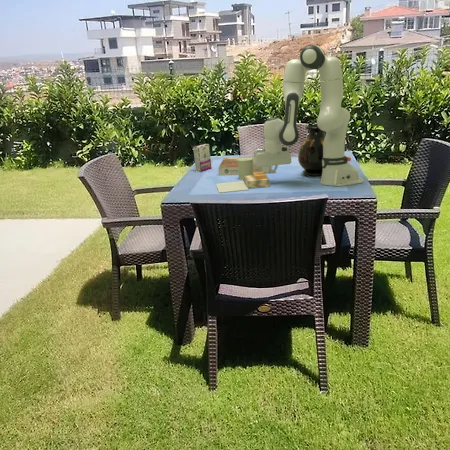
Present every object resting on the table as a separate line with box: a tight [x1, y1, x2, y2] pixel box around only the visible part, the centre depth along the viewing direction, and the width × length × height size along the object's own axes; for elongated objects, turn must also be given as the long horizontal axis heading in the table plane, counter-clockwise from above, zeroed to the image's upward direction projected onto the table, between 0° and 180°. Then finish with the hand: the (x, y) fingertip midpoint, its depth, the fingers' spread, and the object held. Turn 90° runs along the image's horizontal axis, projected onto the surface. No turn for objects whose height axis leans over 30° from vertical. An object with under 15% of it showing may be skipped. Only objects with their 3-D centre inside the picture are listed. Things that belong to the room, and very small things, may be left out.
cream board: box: [215, 180, 250, 194], centre depth 246 cm, size 16×20×1 cm
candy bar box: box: [193, 143, 212, 173], centre depth 292 cm, size 11×5×16 cm, turn 143°
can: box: [238, 158, 253, 181], centre depth 262 cm, size 9×9×12 cm
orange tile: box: [253, 172, 268, 180], centre depth 246 cm, size 6×9×2 cm, turn 6°
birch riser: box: [243, 175, 271, 190], centre depth 246 cm, size 12×14×4 cm
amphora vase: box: [297, 124, 326, 178], centre depth 256 cm, size 22×22×28 cm
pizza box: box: [217, 156, 271, 177], centre depth 288 cm, size 32×5×32 cm
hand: (273, 173), depth 246 cm, fingers closed
